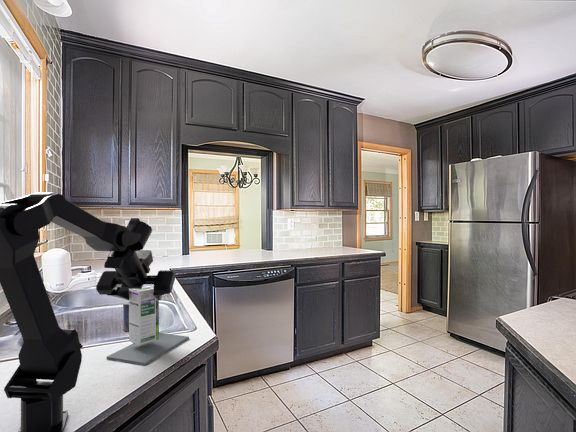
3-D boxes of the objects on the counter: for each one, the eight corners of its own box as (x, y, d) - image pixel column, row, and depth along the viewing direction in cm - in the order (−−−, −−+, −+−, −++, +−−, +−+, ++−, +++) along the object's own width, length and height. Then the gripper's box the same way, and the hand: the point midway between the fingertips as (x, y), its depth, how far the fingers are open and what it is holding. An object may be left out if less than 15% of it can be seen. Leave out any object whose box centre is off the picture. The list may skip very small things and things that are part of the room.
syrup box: (139, 346, 83) (139, 291, 84) (128, 341, 87) (128, 288, 87) (159, 339, 88) (159, 287, 88) (148, 335, 91) (148, 285, 92)
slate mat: (144, 365, 77) (144, 363, 77) (106, 359, 81) (106, 356, 81) (188, 338, 94) (188, 336, 94) (155, 334, 98) (155, 332, 98)
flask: (121, 332, 100) (121, 298, 100) (127, 328, 103) (128, 295, 103) (146, 334, 98) (146, 300, 98) (152, 331, 101) (152, 297, 101)
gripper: (173, 240, 84) (185, 275, 95) (102, 240, 84) (122, 275, 94) (162, 275, 76) (177, 308, 87) (83, 275, 76) (108, 309, 86)
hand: (146, 299), depth 89 cm, fingers closed on syrup box, 8 cm apart
